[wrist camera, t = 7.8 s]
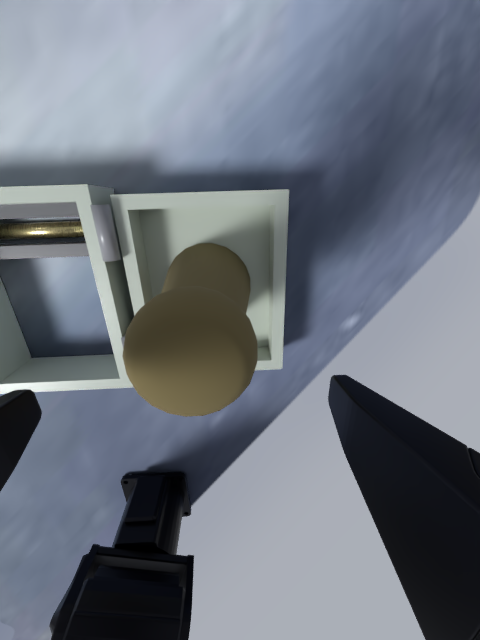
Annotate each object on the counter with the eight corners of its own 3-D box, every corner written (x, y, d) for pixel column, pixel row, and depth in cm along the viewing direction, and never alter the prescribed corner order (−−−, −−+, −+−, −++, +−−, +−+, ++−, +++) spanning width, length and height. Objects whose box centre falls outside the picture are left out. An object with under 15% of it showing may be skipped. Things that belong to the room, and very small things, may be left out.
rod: (97, 231, 17) (98, 217, 18) (-22, 235, 17) (-20, 221, 17) (105, 238, 18) (106, 225, 19) (-8, 242, 18) (-6, 229, 18)
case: (156, 360, 22) (143, 388, 19) (25, 366, 22) (-12, 396, 19) (126, 187, 17) (101, 183, 14) (-46, 192, 17) (-114, 190, 14)
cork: (256, 248, 18) (290, 303, 8) (244, 328, 21) (260, 446, 11) (167, 237, 18) (86, 281, 8) (165, 320, 20) (101, 437, 10)
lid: (276, 350, 22) (282, 368, 20) (155, 355, 22) (146, 375, 20) (280, 191, 18) (289, 189, 15) (127, 196, 18) (110, 194, 15)
